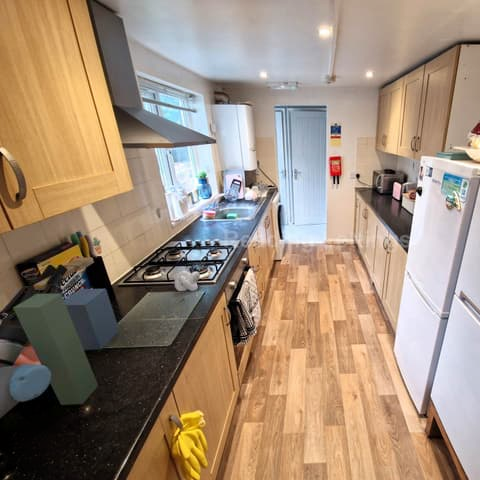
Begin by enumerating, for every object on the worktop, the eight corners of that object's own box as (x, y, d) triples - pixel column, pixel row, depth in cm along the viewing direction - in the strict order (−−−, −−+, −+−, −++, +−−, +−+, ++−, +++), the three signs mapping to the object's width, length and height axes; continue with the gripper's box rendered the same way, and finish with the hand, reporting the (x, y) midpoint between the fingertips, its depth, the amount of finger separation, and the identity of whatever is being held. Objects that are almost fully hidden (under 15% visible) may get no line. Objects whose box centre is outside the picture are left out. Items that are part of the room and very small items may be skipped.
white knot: (192, 280, 141) (189, 265, 138) (208, 286, 136) (205, 270, 133) (172, 290, 132) (169, 274, 129) (188, 297, 127) (185, 280, 124)
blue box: (75, 352, 94) (55, 305, 86) (96, 333, 103) (80, 289, 96) (102, 351, 94) (84, 304, 87) (120, 332, 104) (105, 288, 96)
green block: (62, 407, 75) (12, 307, 62) (78, 388, 80) (36, 293, 68) (84, 406, 75) (39, 307, 63) (99, 387, 81) (60, 293, 68)
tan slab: (79, 262, 93) (77, 257, 93) (94, 262, 94) (92, 257, 93) (30, 290, 77) (27, 284, 76) (48, 289, 77) (45, 284, 76)
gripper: (25, 338, 65) (75, 259, 80) (-42, 339, 65) (22, 260, 79) (48, 347, 71) (91, 272, 86) (-13, 349, 71) (41, 273, 85)
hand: (58, 267), depth 83 cm, fingers closed on tan slab, 2 cm apart
